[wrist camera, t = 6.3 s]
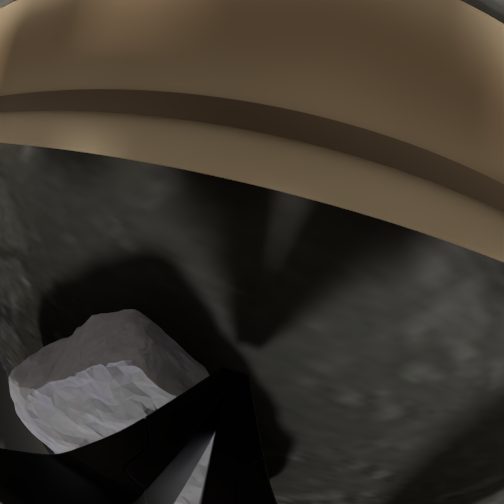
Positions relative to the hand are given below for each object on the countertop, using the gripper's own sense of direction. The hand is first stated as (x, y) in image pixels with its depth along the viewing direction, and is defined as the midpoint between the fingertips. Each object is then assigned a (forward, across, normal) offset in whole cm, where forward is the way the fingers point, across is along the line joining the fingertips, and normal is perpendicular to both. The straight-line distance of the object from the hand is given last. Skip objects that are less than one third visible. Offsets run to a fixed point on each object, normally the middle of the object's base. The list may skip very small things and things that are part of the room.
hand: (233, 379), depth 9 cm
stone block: (+2, +3, +6) cm, 7 cm away
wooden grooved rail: (+1, +1, -8) cm, 9 cm away
